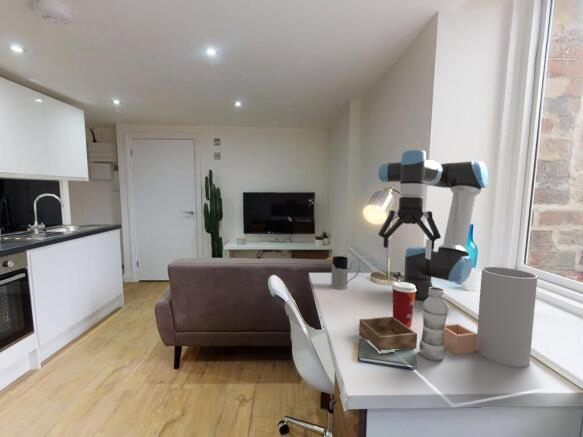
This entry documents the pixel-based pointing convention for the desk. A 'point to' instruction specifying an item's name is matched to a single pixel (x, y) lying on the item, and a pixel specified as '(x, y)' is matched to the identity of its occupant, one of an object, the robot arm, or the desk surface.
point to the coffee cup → (403, 302)
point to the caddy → (387, 333)
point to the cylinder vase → (506, 315)
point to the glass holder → (340, 273)
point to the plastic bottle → (433, 325)
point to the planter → (459, 339)
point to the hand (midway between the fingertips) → (407, 257)
